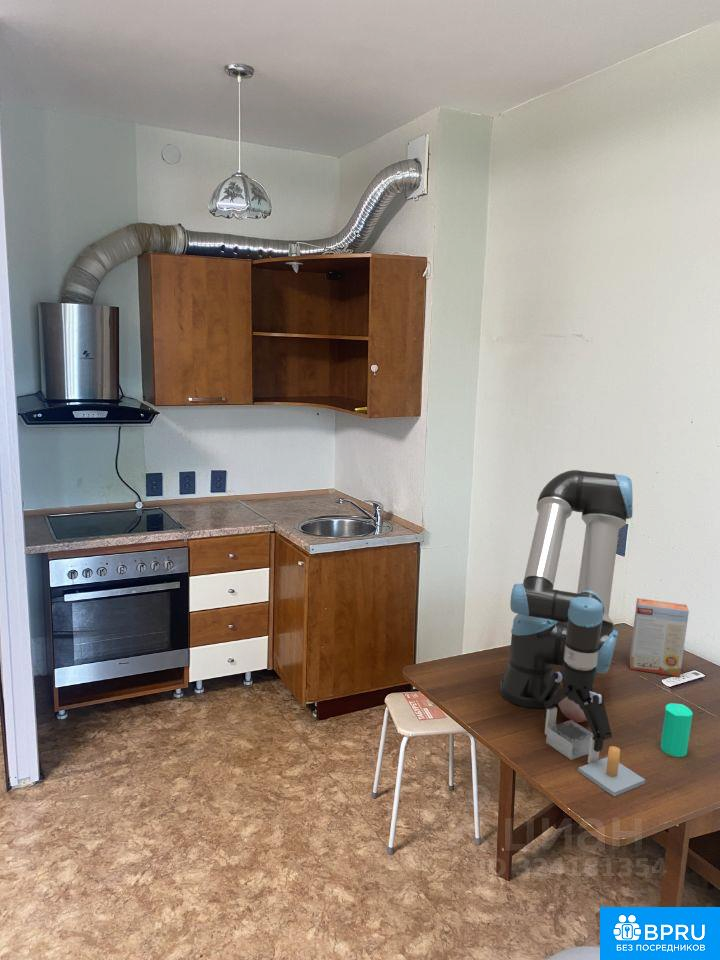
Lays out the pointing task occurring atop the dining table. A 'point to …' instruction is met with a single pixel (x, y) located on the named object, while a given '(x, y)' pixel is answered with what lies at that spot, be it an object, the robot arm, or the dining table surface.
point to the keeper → (611, 774)
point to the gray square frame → (569, 739)
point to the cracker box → (658, 637)
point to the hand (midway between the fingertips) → (570, 747)
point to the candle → (676, 729)
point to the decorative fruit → (572, 710)
